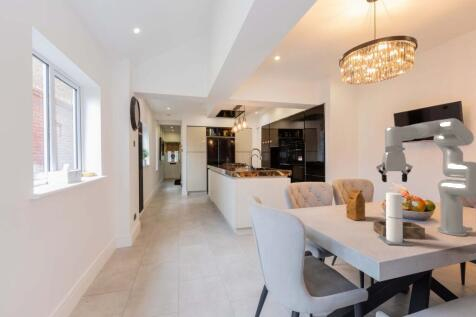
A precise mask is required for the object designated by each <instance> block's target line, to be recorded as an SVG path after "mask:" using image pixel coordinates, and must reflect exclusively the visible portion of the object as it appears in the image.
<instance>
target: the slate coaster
mask: <svg viewBox="0 0 476 317" xmlns="http://www.w3.org/2000/svg"><path fill="white" fill-rule="evenodd" d="M377 238H378V239H380V240H381V241H382V242H383V243H384V244H386V245H388V246H399V247H401V246H402V247H413V244H412V243H410V242H408V241H407V240H405V238H403V242H401V243H397V242H392V241H389V240H387V239H386V236H381V235H378V236H377Z"/></svg>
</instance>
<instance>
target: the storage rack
mask: <svg viewBox="0 0 476 317" xmlns="http://www.w3.org/2000/svg"><path fill="white" fill-rule="evenodd" d="M372 222H373V223H372V227H373V228H372V229H373V231H374V232H375V233H376V234H378V236H386V220H372ZM403 239H418V240H419V239H421V240H425V239H426V227H423V226H421V225H420V224H418V223H417V224H416V223H415V222H414V221H413V222H412V221H403Z"/></svg>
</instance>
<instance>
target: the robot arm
mask: <svg viewBox="0 0 476 317" xmlns="http://www.w3.org/2000/svg"><path fill="white" fill-rule="evenodd" d="M430 137H433V141H434V144H436V146H438V147H439V149H440V150H441V152H442V174H443V175H444V176H445V177H449V178H457V179H447V178H446V179H443V180H440V181H439V182H438V184H437V188H438V193H439V199H440V205H439V206H440V227H437V228H436V230H437V231H438V232H440V233H442V234H445V235H449V236H456V237H464V236H465V237H466V236H467V235H468V233H467V231H469V232H470V231H471V232H472V231H473V227H472V226H471V227H470V226H468V227H467V226H466V225H464V204H463V201H462V199H461V198H466V199H467V198H468V199H476V162H475V161H464V152H463V150H462V149H461V148H460V147H462V146H463V147H464V146H469V145H471V144H472V143H473V142H474V139H475V137H474V134H473V132H472V130H471V129H470V128H469V127H468V126H466V125H465V124H464V123H463V122H462V121H460V120H459V119H457V118H454V117H453V118H446V119H437V120H433V121H431V120H430V121H425V122H420V123H414V124H411V125H405V126H389V127H386V128H385V129H384V146H385V147H384V148H385V149H384V150H385V152H383V154H382V159H381V164H379V165H377V166H375V168H376V170H377V172H378V173H379V174H380V175H381V181H382V182H383V183H387V182H388V178H387V173H388V172H401V173H402V174H401V182H403V183H407V182H408V175H409V173H411V172H412V169H413V167H414V166H413V165H411V164H409V163H407V160H406V155H405V152H404V151H405V150H406V147H403V142H404V141H412V140H415V139H416V140H417V139H426V138H430ZM462 179H465V180H462Z"/></svg>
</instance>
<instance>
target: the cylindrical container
mask: <svg viewBox="0 0 476 317" xmlns="http://www.w3.org/2000/svg"><path fill="white" fill-rule="evenodd" d="M403 208H404V207H403V193H399V192H385V219H386V220H385V221H386V239H387V240H389V241H392V242H397V243H401V242H403V239H404V238H403V222H404V221H403V220H404V219H403V214H404V212H403V211H404V210H403Z"/></svg>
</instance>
